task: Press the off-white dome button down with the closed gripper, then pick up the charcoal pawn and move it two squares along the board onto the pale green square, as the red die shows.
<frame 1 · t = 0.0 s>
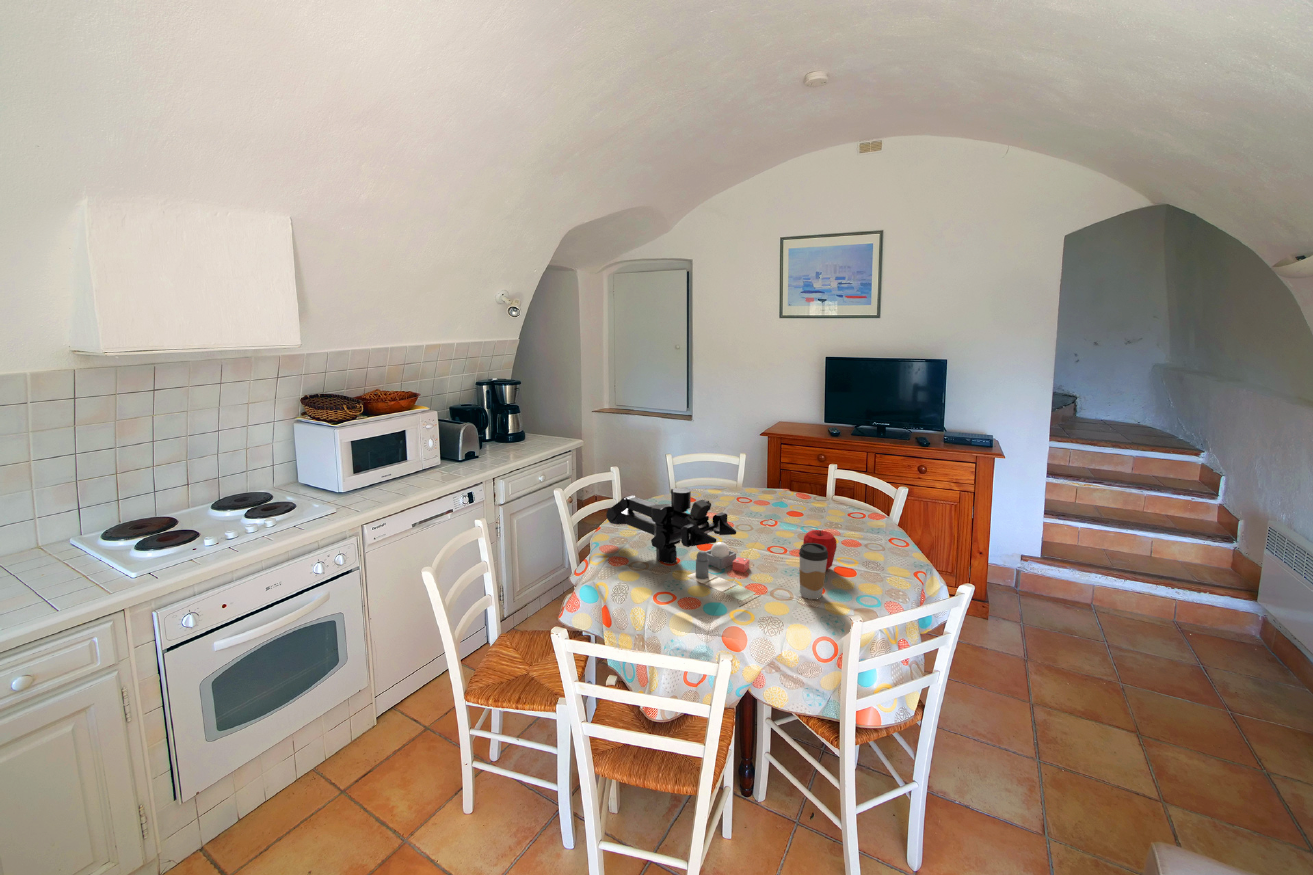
hand: (726, 536, 180), 17 cm above the table, tool horizontal, fingers open, 9 cm apart
red die: (740, 572, 194), on the table
coffee cup: (810, 595, 179), on the table
game board: (720, 587, 183), on the table
dome housing: (719, 565, 199), on the table
pawn: (702, 576, 188), point 1 cm above the table, touching game board
dome: (720, 551, 198), point 5 cm above the table, slide at 0.0 cm
apple: (818, 569, 196), on the table
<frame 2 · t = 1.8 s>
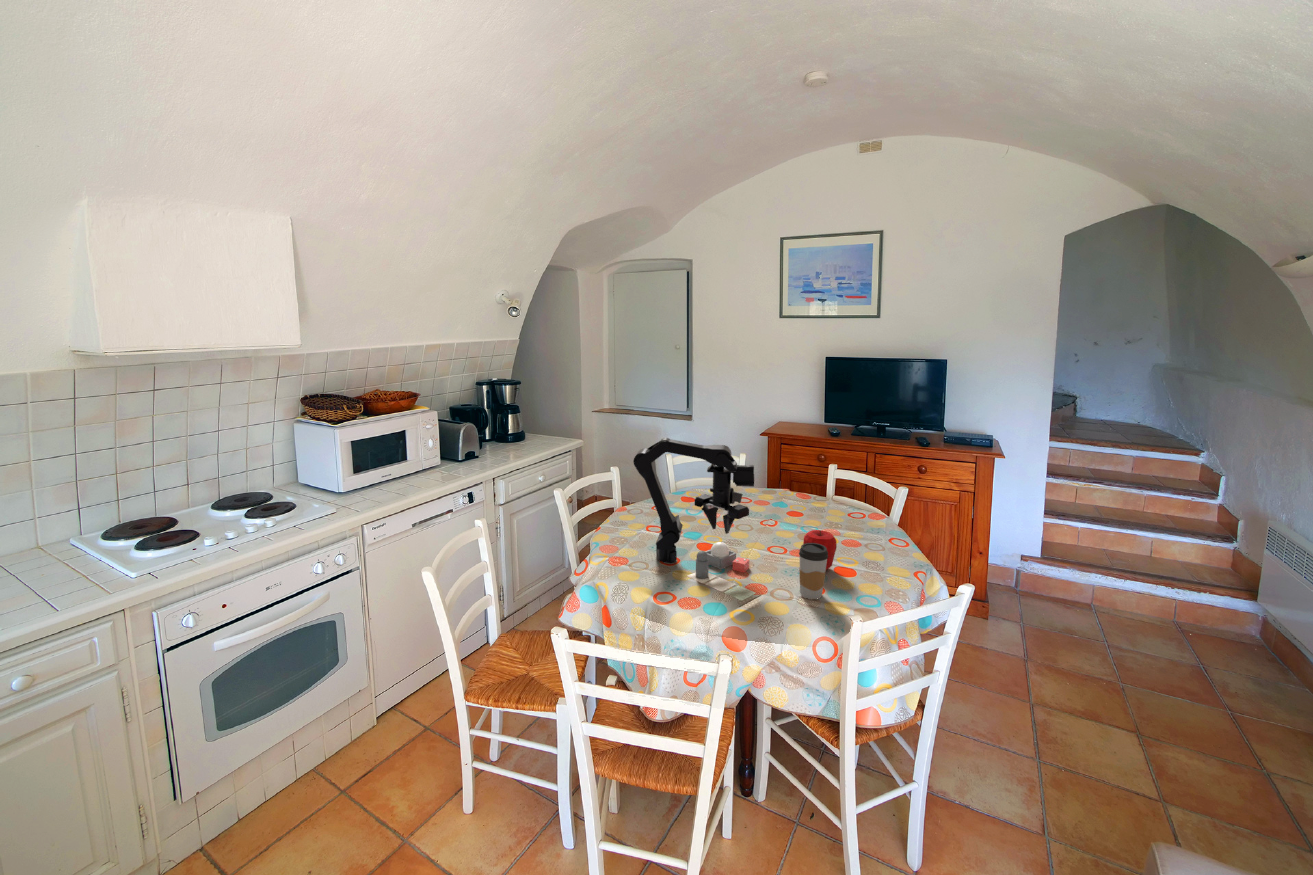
hand: (720, 531, 196), 12 cm above the table, tool pointing down, fingers open, 5 cm apart
nothing on the table moved.
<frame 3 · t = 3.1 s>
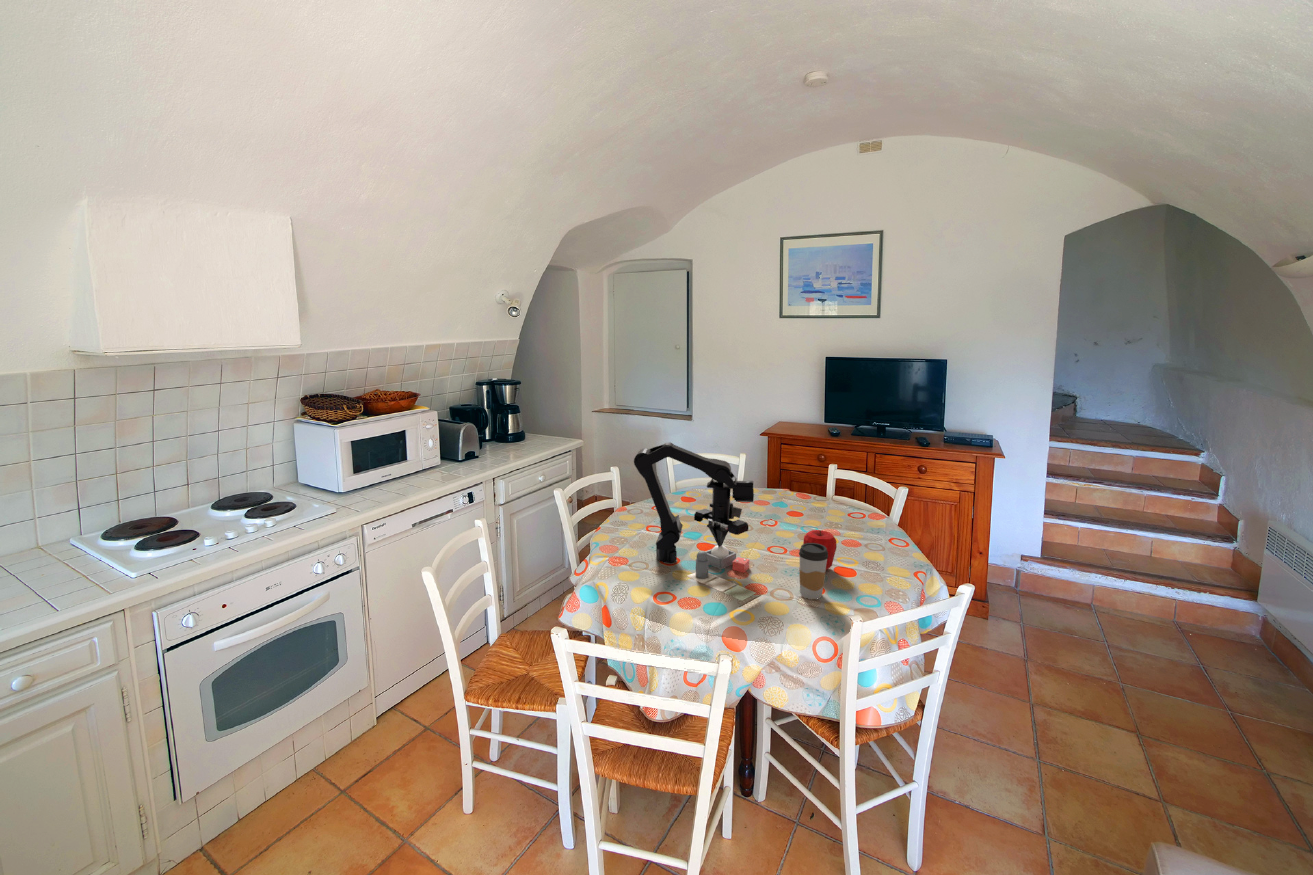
hand: (719, 545, 197), 7 cm above the table, tool pointing down, fingers closed, pressing on dome
dome: (719, 554, 198), point 4 cm above the table, slide at 1.1 cm, touching gripper
everything else where it was.
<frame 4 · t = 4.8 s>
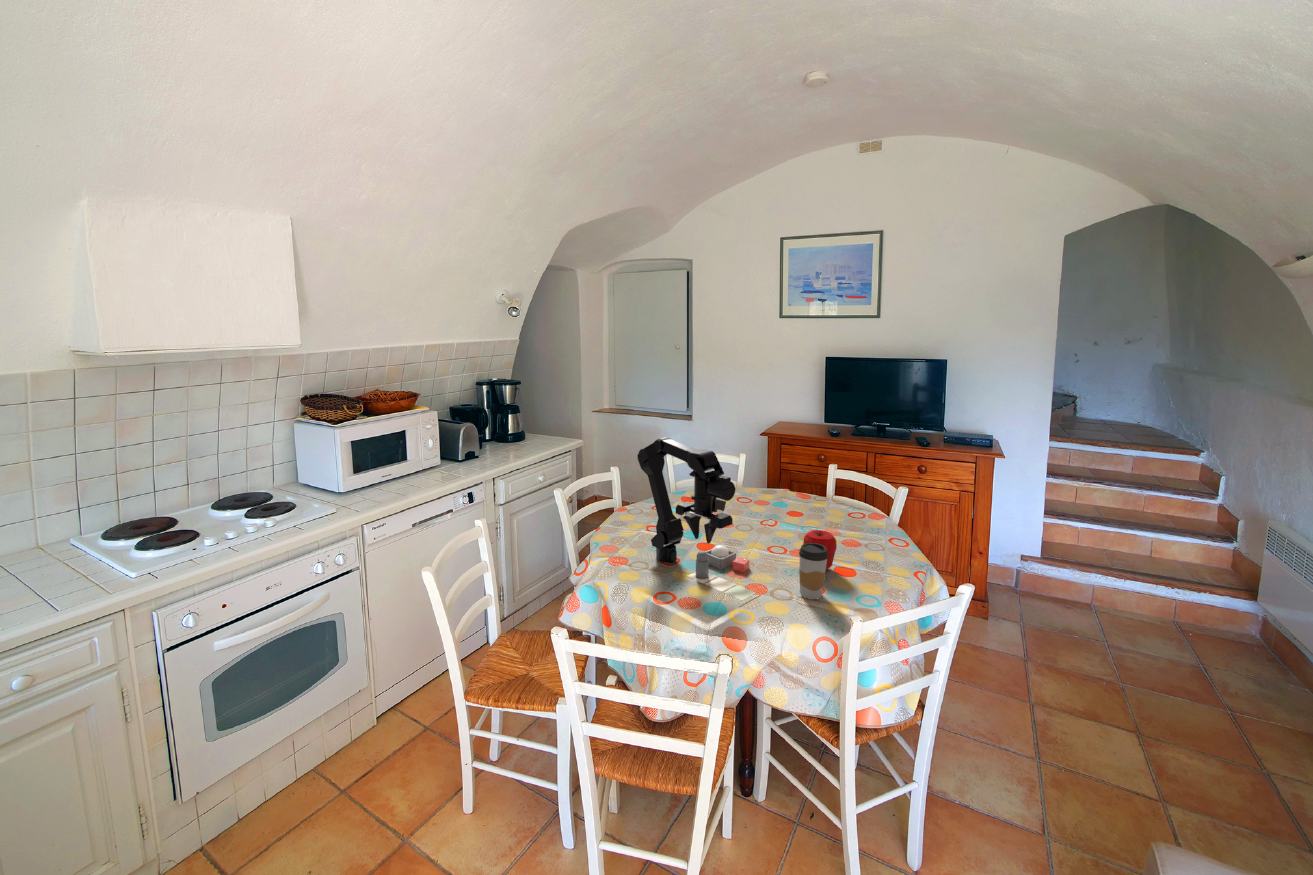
hand: (702, 540, 186), 13 cm above the table, tool pointing down, fingers open, 5 cm apart
dome: (719, 554, 198), point 4 cm above the table, slide at 1.1 cm
everything else where it was.
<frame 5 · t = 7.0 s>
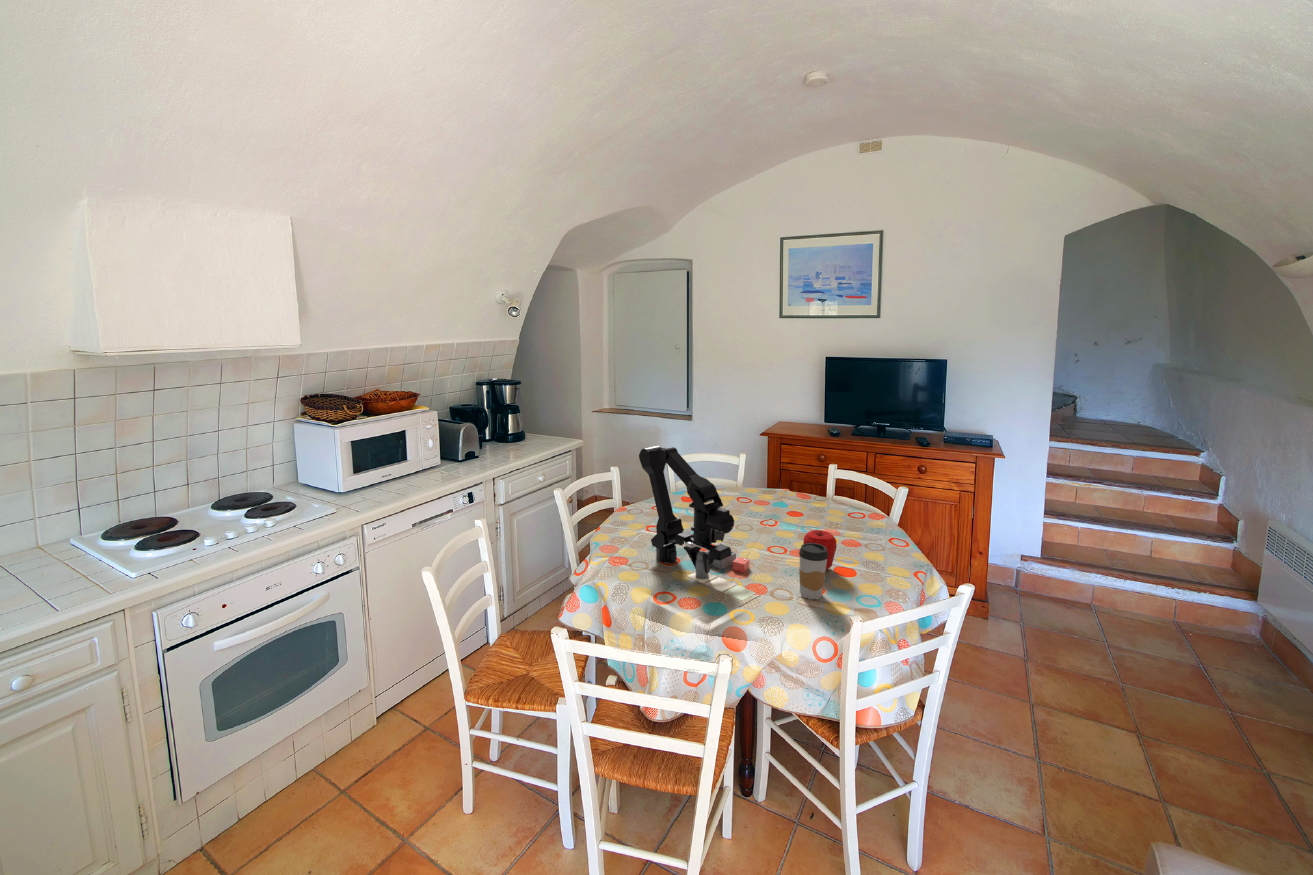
hand: (702, 570, 188), 3 cm above the table, tool pointing down, fingers closed on pawn, 4 cm apart
pawn: (702, 576, 188), point 1 cm above the table, touching game board, gripper
everything else where it was.
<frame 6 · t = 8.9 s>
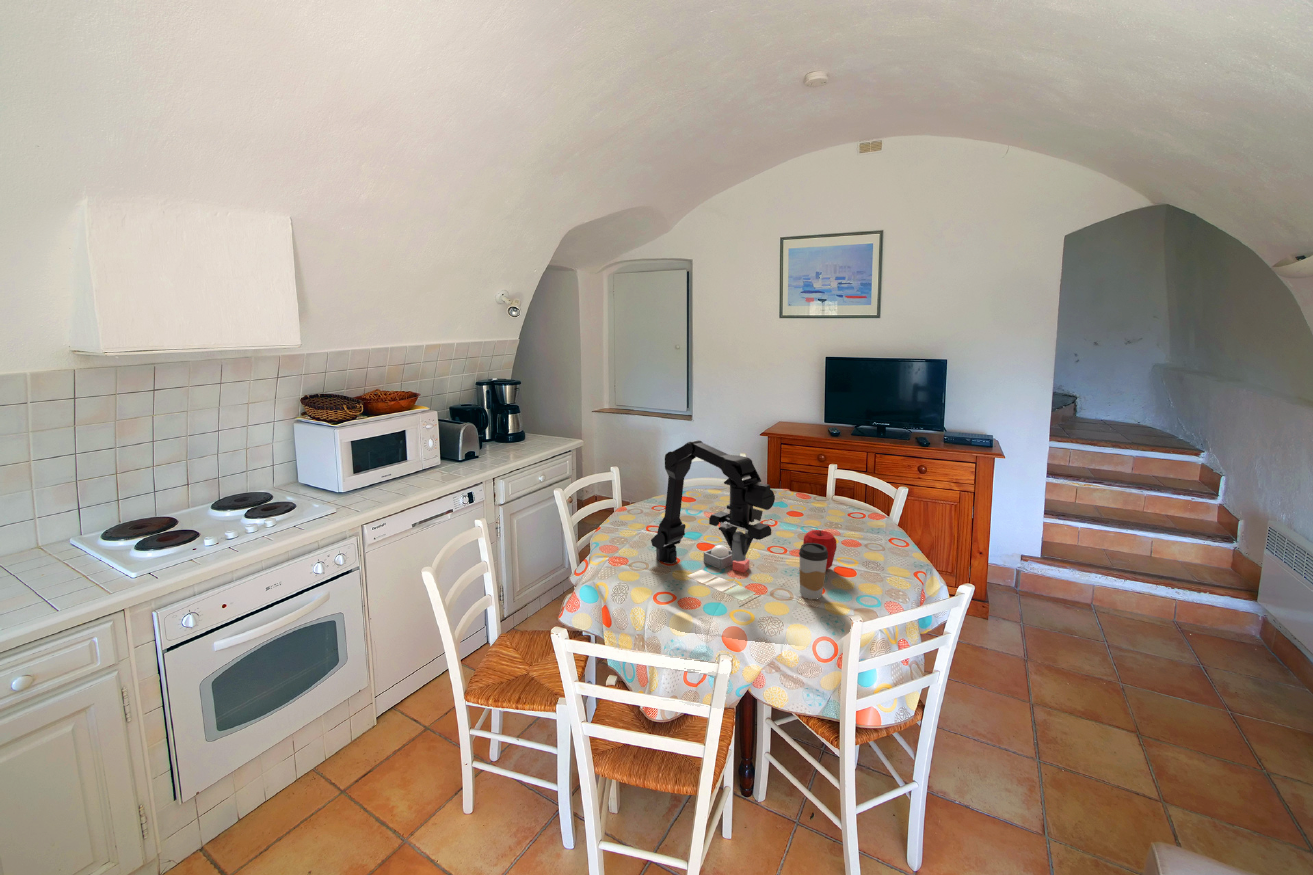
hand: (738, 552, 176), 14 cm above the table, tool pointing down, fingers closed on pawn, 4 cm apart
pawn: (738, 558, 176), point 12 cm above the table, touching gripper
everything else where it was.
when the fingers open (4 cm above the table, at t = 10.9 s): pawn drops 1 cm, resting on game board.
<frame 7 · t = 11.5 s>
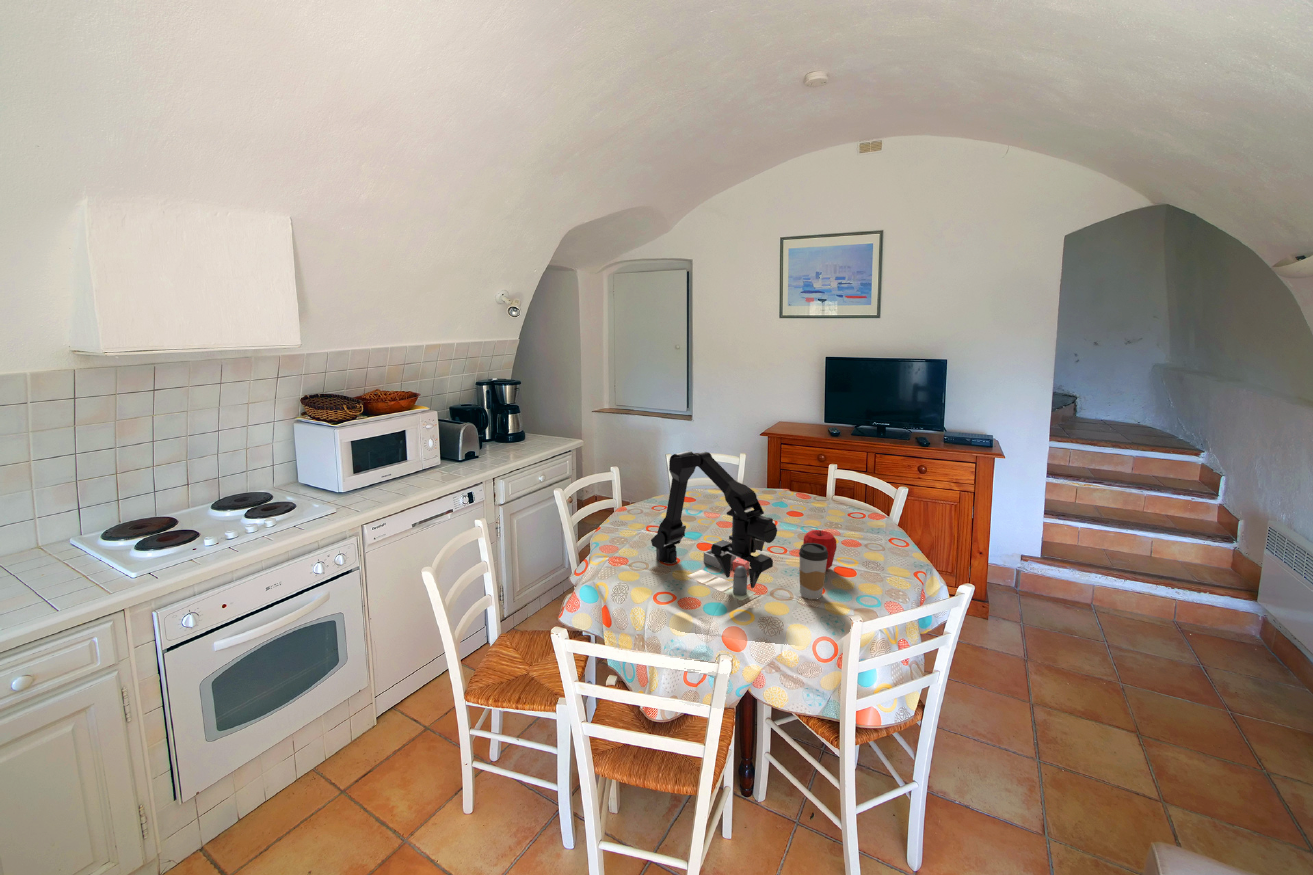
hand: (740, 582, 177), 4 cm above the table, tool pointing down, fingers open, 9 cm apart
pawn: (739, 592, 178), point 1 cm above the table, touching game board
everything else where it was.
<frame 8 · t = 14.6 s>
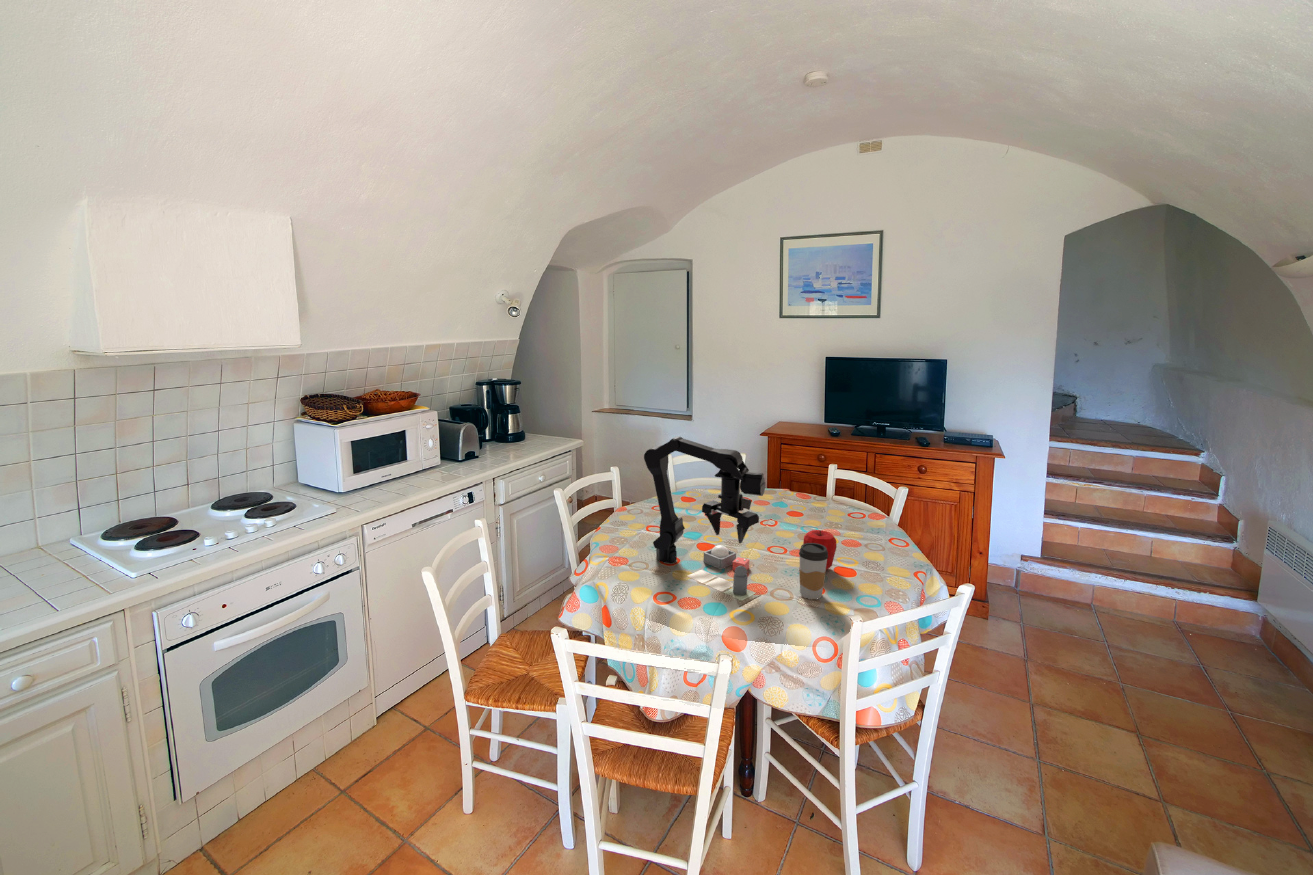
hand: (728, 538, 190), 12 cm above the table, tool pointing down, fingers open, 9 cm apart
nothing on the table moved.
at the end: pawn 0.0 cm from the target spot on the game board, point 1.3 cm above the game board's base; pawn tilted 2°; dome slide at 1.1 cm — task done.
